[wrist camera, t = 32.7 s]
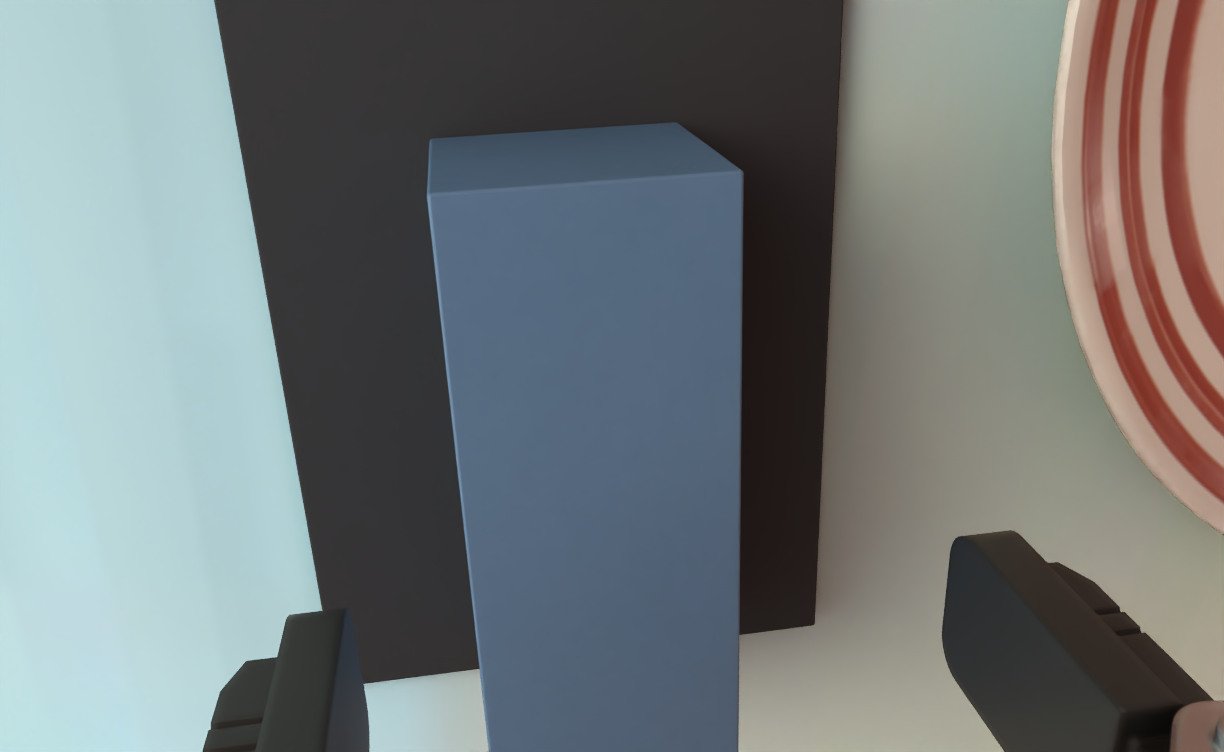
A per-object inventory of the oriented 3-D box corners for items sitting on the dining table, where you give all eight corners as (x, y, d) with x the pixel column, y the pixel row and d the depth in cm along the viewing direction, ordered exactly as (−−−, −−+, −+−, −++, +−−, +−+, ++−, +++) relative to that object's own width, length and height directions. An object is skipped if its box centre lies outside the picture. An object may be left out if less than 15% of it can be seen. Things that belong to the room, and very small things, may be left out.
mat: (844, -164, 20) (851, -166, 19) (809, 616, 27) (814, 625, 26) (193, -145, 18) (187, -147, 18) (337, 677, 25) (335, 687, 25)
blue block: (493, 793, 20) (426, 193, 16) (483, 638, 25) (429, 138, 20) (738, 757, 21) (744, 169, 16) (685, 612, 26) (678, 121, 21)
